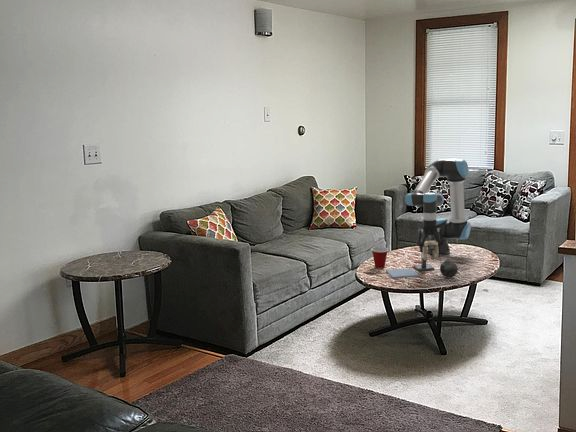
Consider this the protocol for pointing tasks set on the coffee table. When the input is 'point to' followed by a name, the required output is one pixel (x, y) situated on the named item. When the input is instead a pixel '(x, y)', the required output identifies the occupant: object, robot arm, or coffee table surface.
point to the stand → (424, 262)
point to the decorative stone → (448, 269)
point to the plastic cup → (379, 256)
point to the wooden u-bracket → (435, 251)
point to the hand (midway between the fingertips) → (429, 256)
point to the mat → (402, 273)
